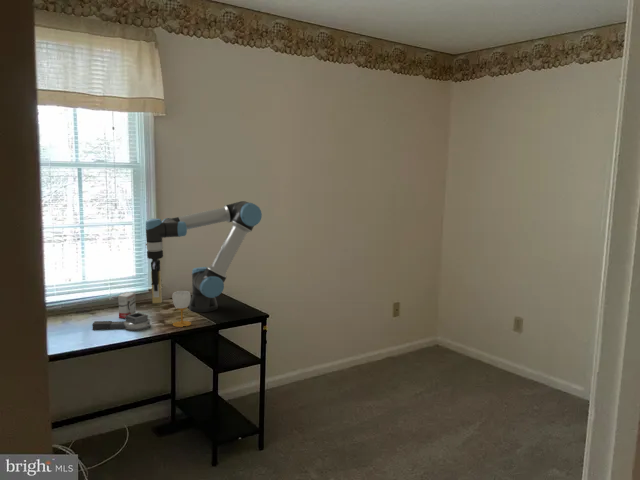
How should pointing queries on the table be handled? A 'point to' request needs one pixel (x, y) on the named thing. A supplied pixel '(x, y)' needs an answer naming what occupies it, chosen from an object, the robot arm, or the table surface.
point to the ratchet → (125, 323)
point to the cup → (181, 305)
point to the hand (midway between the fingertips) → (157, 295)
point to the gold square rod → (159, 299)
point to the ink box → (126, 304)
